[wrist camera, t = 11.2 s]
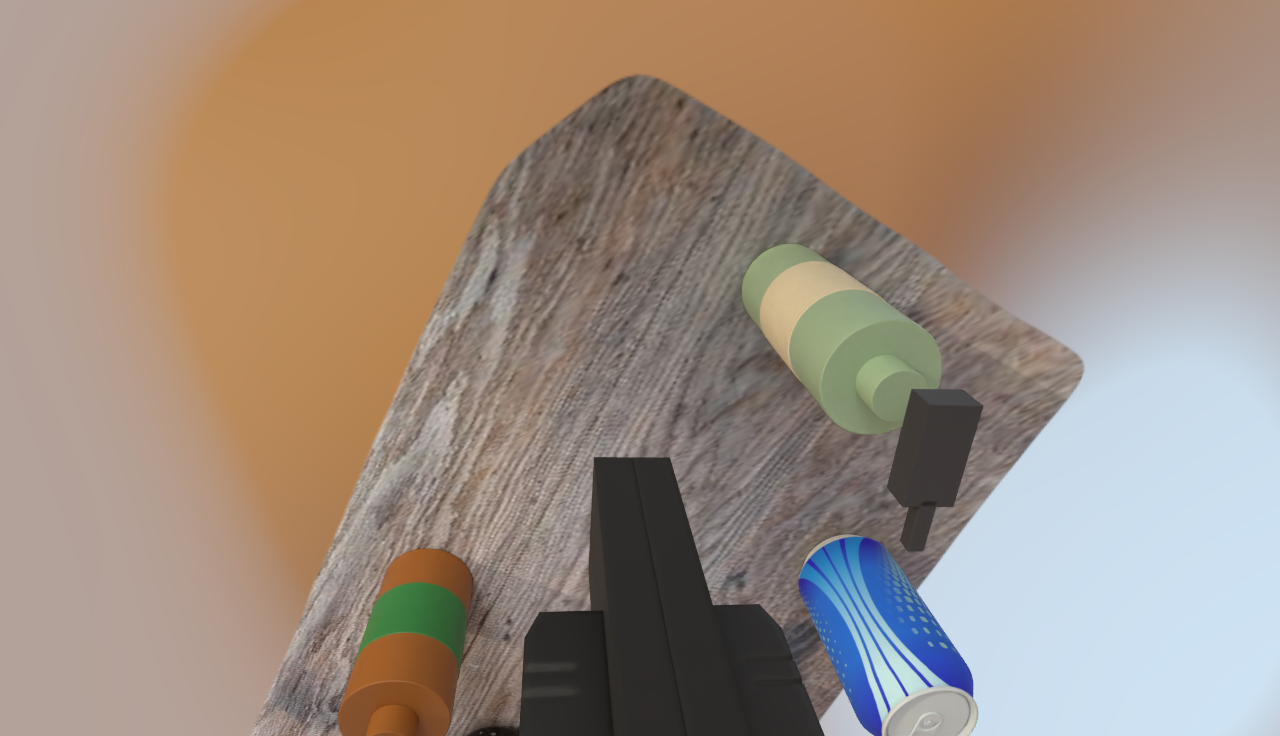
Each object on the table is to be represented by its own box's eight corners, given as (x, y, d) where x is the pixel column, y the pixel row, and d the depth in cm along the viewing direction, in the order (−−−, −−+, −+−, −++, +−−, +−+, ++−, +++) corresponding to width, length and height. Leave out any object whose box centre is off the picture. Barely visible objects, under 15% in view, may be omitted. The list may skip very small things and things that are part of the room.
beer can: (776, 562, 59) (847, 723, 44) (859, 509, 58) (961, 658, 43) (822, 618, 62) (903, 786, 48) (902, 570, 61) (1010, 727, 46)
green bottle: (746, 240, 47) (847, 331, 31) (836, 244, 48) (981, 334, 32) (735, 329, 50) (822, 455, 33) (820, 331, 51) (946, 456, 34)
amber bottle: (380, 547, 54) (320, 710, 40) (472, 546, 55) (444, 705, 41) (386, 617, 57) (333, 791, 43) (474, 615, 58) (449, 785, 44)
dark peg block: (900, 378, 30) (929, 404, 28) (950, 379, 31) (984, 405, 28) (866, 517, 33) (890, 552, 31) (913, 517, 33) (940, 551, 31)
